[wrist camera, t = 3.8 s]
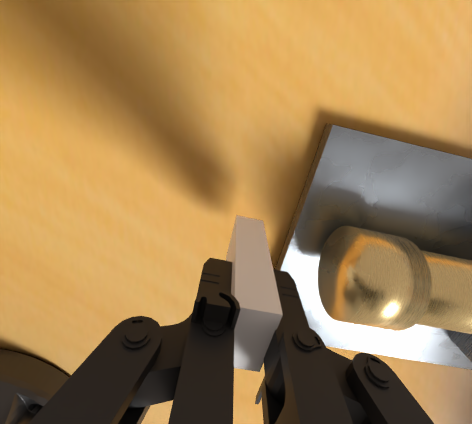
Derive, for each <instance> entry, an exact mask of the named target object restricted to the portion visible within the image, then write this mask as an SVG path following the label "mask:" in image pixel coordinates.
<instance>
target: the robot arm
mask: <svg viewBox="0 0 472 424" xmlns="http://www.w3.org/2000/svg"><path fill="white" fill-rule="evenodd" d="M263 362H264V369H265V377H264V379H263V381H262V384H261V386H260V388H259V391H258V393H257V395H256V402H255V404H259V402H260V400H261V397H262V407H263V420H264V424H434V423H433V422H432V420H431V419H430V418H429V416H428V415H427V414H426V413H425V411H424V410H423V409H422V407H421V406H420V405H419V404H418V402H417V401H416V400H415V398H414V397H413V396H412V395H411V393H410V392H409V391H408V389H407V388H406V387H405V386H404V384H403V383H402V382H401V380H400V379H399V378H398V377H397V375H396V374H395V373H394V372H393V371H392V369H391V368H390V367H389V366H388V365H387V364H386V363H384V362H383V361H382V360H380V359H379V358H377V357H375V356H373V355H371V354H367V353H359V354H357V355H355V357H354V358H353V360H350V359H348V358H346V357H344V356H341V355H339V354H337V353H335V352H333V351H331V350H329V349H328V348H326V346H325V344H324V342H323V340H322V339H321V337H320V336H319V335H318V334H317V333H316V332H315V331H314V330H313V329H311V328H310V327H309V324H308V321H307V318H306V315H305V312H304V308H303V305H302V302H301V299H300V296H299V293H298V291H297V287H296V283H295V280H294V279H293V278H292V277H291V275H290V274H289V273H288V272H285V271H280V270H275V269H273V266H272V261H271V257H270V252H269V247H268V242H267V238H266V233H265V228H264V223H263V221H262V220H257V219H252V218H247V217H243V216H238V215H236V219H235V224H234V228H233V232H232V236H231V240H230V244H229V248H228V252H227V256H226V261H224V260H219V259H214V258H209V259H208V260H207V261H206V262H205V263H204V266H203V270H202V275H201V279H200V284H199V288H198V293H197V297H196V300H195V304H194V308H193V312H192V314H191V315H190V316H189V318H187V319H186V320H185V321H183V322H181V323H179V324H175V325H170V326H161V327H160V325H159V324H158V322H156V321H155V320H153V319H152V318H149V317H144V316H137V317H131V318H129V319H126V320H124V321H122V322H121V323H119V324H118V325H117V326H116V327H115V328H114V329H113V330H112V331H111V332H110V333H109V334H108V335H107V336H106V338H105V339H104V340H103V341H102V342H101V343H100V344H99V345H98V346H97V348H96V349H95V350H94V351H93V352H92V353H91V354H90V355H89V356H88V358H87V359H86V360H85V361H84V362H83V363H82V364H81V365H80V366H79V368H78V369H77V370H76V371H75V372H74V373H73V374H72V375H71V376H70V378H69V377H68V376H67V375H65V374H64V373H62V372H61V371H59V370H58V369H56V368H54V367H53V366H51V365H49V364H47V363H45V362H43V361H40V360H38V359H35V358H33V357H30V356H27V355H24V354H21V353H17V352H13V351H8V350H3V349H0V424H141V422H142V420H143V419H144V417H145V415H146V413H147V411H148V409H149V407H150V405H154V404H158V403H162V402H166V401H171V400H173V405H172V409H171V414H170V418H169V423H168V424H233V382H234V368H239V369H245V370H251V371H258V372H260V370H261V367H262V365H263Z"/></svg>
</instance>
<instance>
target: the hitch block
mask: <svg viewBox="0 0 472 424" xmlns="http://www.w3.org/2000/svg"><path fill="white" fill-rule="evenodd" d="M342 226H352V227H357V228H361V229H366V230H371V231H376V232H381V233H385V234H390V235H395V236H400V237H404V238H406V239H408V240H410V241H411V242H413V243H414V244H415V245H416V246H417V247H418V248H419V249H420V250H423V251H427V252H432V253H437V254H442V255H447V256H452V257H457V258H461V259H466V260H471V261H472V159H470V158H466V157H462V156H458V155H454V154H450V153H445V152H441V151H437V150H433V149H429V148H425V147H421V146H417V145H413V144H409V143H405V142H401V141H397V140H393V139H389V138H385V137H381V136H377V135H373V134H369V133H364V132H360V131H356V130H352V129H348V128H344V127H340V126H336V125H332V124H326V127H325V129H324V132H323V135H322V138H321V141H320V144H319V147H318V149H317V152H316V155H315V158H314V161H313V164H312V166H311V169H310V172H309V175H308V178H307V181H306V183H305V186H304V189H303V192H302V195H301V198H300V201H299V203H298V206H297V209H296V212H295V215H294V218H293V220H292V223H291V226H290V229H289V232H288V235H287V238H286V240H285V243H284V246H283V249H282V252H281V255H280V257H279V260H278V263H277V266H276V269H275V270H280V271H285V272H288V273H289V274H290V275H291V277H292V278H293V279H294V280H295V283H296V287H297V291H298V293H299V296H300V299H301V302H302V305H303V308H304V312H305V315H306V318H307V321H308V324H309V327H310V328H311V329H313V330H314V331H315V332H316V333H317V334H318V335H319V336H320V337H321V339H322V340H323V342H324V344H325V346H329V347H335V348H341V349H347V350H353V351H360V352H366V353H372V354H378V355H384V356H390V357H397V358H403V359H409V360H415V361H421V362H428V363H434V364H440V365H446V366H452V367H458V368H465V369H471V370H472V334H469V333H463V332H458V331H452V330H446V329H441V328H435V327H429V326H424V325H418V324H415V325H414V326H412V327H411V328H409V329H406V330H402V331H393V330H387V329H381V328H375V327H370V326H364V325H358V324H352V323H346V322H341V321H336V320H334V319H332V318H331V317H330V316H329V315H328V314H327V313H326V311H325V310H324V308H323V306H322V303H321V300H320V297H319V292H318V282H317V275H318V265H319V260H320V256H321V252H322V250H323V247H324V245H325V243H326V241H327V239H328V238H329V236H330V235H331V234H332V233H333V232H334V231H335V230H336V229H338V228H339V227H342Z"/></svg>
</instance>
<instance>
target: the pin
mask: <svg viewBox="0 0 472 424" xmlns="http://www.w3.org/2000/svg"><path fill="white" fill-rule="evenodd" d="M317 282H318V292H319V297H320V300H321V303H322V306H323V308H324V310H325V311H326V313H327V314H328V315H329V316H330V317H331V318H332V319H334V320H336V321H341V322H346V323H352V324H358V325H364V326H370V327H375V328H381V329H387V330H393V331H402V330H406V329H409V328H411V327H412V326H414V325H415V324H418V325H424V326H429V327H435V328H441V329H446V330H452V331H458V332H463V333H469V334H472V261H471V260H466V259H461V258H457V257H452V256H447V255H442V254H437V253H432V252H427V251H423V250H420V249H419V248H418V247H417V246H416V245H415V244H414V243H413V242H411V241H410V240H408V239H406V238H404V237H400V236H395V235H390V234H385V233H381V232H376V231H371V230H366V229H361V228H357V227H352V226H342V227H339V228H338V229H336V230H335V231H334V232H333V233H332V234H331V235H330V236H329V238H328V239H327V241H326V243H325V245H324V247H323V250H322V252H321V256H320V260H319V265H318V275H317Z"/></svg>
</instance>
